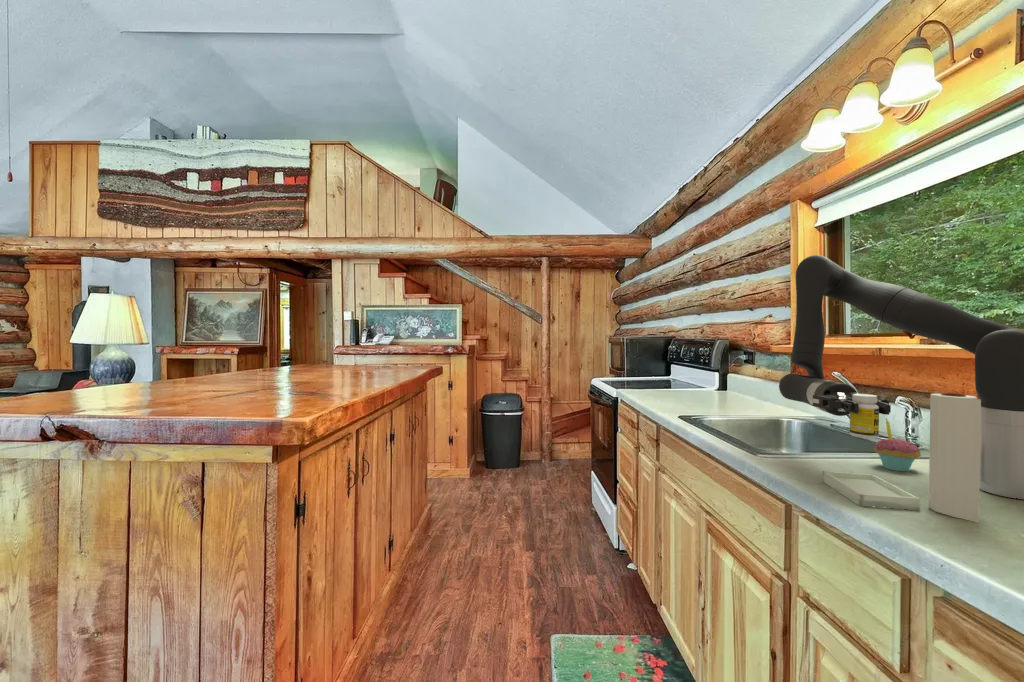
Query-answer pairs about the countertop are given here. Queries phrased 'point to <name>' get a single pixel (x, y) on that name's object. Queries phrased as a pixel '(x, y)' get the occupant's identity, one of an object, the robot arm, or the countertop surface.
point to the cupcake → (896, 452)
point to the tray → (871, 490)
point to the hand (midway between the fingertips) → (871, 408)
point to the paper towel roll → (955, 455)
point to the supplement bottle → (865, 417)
